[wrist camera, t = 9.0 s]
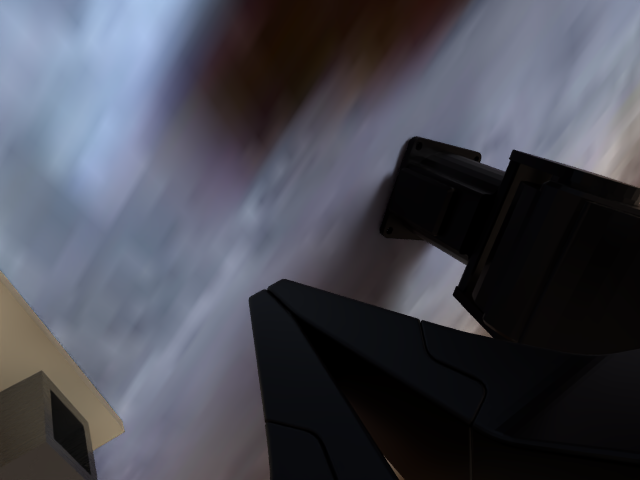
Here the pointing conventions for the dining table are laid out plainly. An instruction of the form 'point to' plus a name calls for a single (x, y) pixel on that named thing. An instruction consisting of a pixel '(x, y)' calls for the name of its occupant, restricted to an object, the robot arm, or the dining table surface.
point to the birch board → (48, 364)
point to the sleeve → (43, 434)
